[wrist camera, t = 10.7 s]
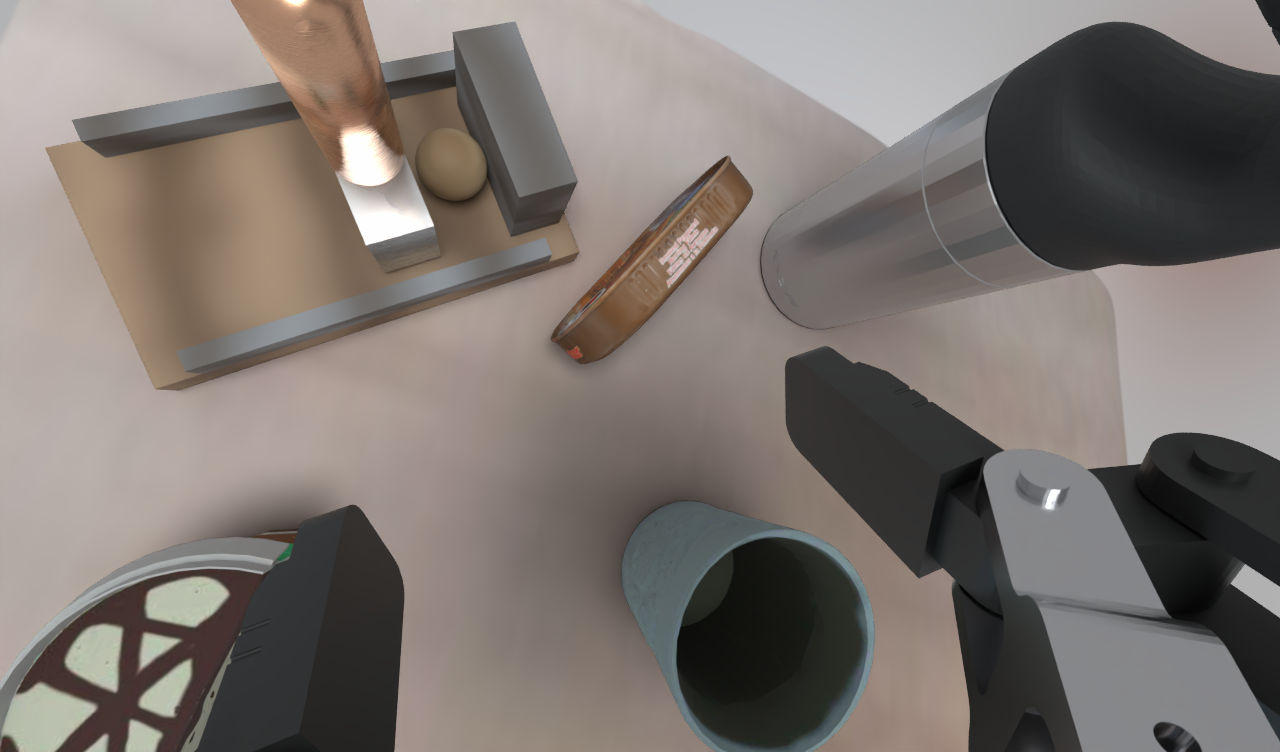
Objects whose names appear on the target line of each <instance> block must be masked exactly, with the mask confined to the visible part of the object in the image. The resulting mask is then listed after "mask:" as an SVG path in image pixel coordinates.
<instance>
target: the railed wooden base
mask: <svg viewBox="0 0 1280 752" xmlns="http://www.w3.org/2000/svg"><path fill="white" fill-rule="evenodd" d="M453 42H454V50H452V51H446V52H441V53H435V54H430V55H424V56H419V57H414V58H408V59H403V60H397V61H392V62H386V63H381V64H380V65H381V68H382V72H383V75H384V79H385V82H386V86H387V90H388V93H389V97H390V100H391V104H392V107H393V111H394V115H395V118H396V122H397V125H398V129H399V132H400V136H401V140H402V143H403V147H404V154H405V157H406V159H407V161H408V164H409V166H410V169H411V171H412V174H413V176H414V178H415V181H416V183H417V186H418V188H419V191H420V193H421V195H422V198H423V200H424V203H425V205H426V207H427V210H428V212H429V215H430V217H431V220H432V222H433V224H434V228H435V232H436V236H437V240H438V245H439V249H440V253H441V256H440V257H437V258H433V259H430V260H427V261H423V262H420V263H417V264H413V265H410V266H407V267H403V268H400V269H397V270H393V271H390V272H387V273H385V272H384V271H383V269H382V268H381V267H380V265H379V264H378V262H377V261H376V259H375V258H374V256H373V255H372V253H371V252H370V250H369V249H368V247H367V246H366V244H365V242H364V239H363V237H362V235H361V232H360V230H359V228H358V225H357V223H356V220H355V218H354V216H353V213H352V211H351V209H350V206H349V204H348V202H347V199H346V197H345V194H344V192H343V190H342V187H341V185H340V183H339V180H338V178H337V175H336V173H335V171H334V169H333V168H332V167H331V165H330V164H329V162H328V161H327V159H326V157H325V156H324V154H323V152H322V151H321V149H320V148H319V146H318V144H317V143H316V141H315V139H314V138H313V136H312V134H311V133H310V131H309V129H308V128H307V126H306V124H305V123H304V121H303V119H302V118H301V116H300V114H299V113H298V111H297V109H296V108H295V106H294V104H293V103H292V101H291V100H290V98H289V96H288V95H287V93H286V91H285V90H284V88H283V86H282V85H281V83H280V82H277V83H272V84H266V85H261V86H255V87H250V88H244V89H239V90H233V91H228V92H222V93H217V94H211V95H206V96H200V97H195V98H190V99H184V100H179V101H173V102H168V103H162V104H157V105H151V106H146V107H140V108H135V109H129V110H124V111H119V112H113V113H108V114H102V115H97V116H91V117H86V118H80V119H75V120H72V122H73V124H74V126H75V128H76V131H77V133H78V135H79V137H80V140H81V141H78V142H73V143H67V144H62V145H57V146H52V147H47V148H45V149H46V151H47V153H48V155H49V158H50V160H51V162H52V164H53V166H54V169H55V171H56V173H57V175H58V177H59V180H60V182H61V184H62V186H63V188H64V191H65V193H66V195H67V197H68V199H69V201H70V204H71V206H72V208H73V210H74V212H75V215H76V217H77V219H78V221H79V223H80V226H81V228H82V230H83V232H84V234H85V237H86V239H87V241H88V243H89V245H90V248H91V250H92V252H93V254H94V256H95V259H96V261H97V263H98V265H99V267H100V270H101V272H102V274H103V276H104V278H105V281H106V283H107V285H108V287H109V289H110V291H111V294H112V296H113V298H114V300H115V302H116V305H117V307H118V309H119V311H120V313H121V316H122V318H123V320H124V322H125V324H126V327H127V329H128V331H129V333H130V335H131V338H132V340H133V342H134V344H135V346H136V349H137V351H138V353H139V355H140V357H141V360H142V362H143V364H144V366H145V368H146V371H147V373H148V375H149V377H150V379H151V381H152V384H153V386H154V388H155V389H161V390H181V389H184V388H187V387H190V386H193V385H196V384H199V383H202V382H205V381H208V380H211V379H214V378H217V377H220V376H224V375H227V374H230V373H233V372H236V371H239V370H242V369H245V368H248V367H251V366H254V365H257V364H260V363H263V362H266V361H269V360H272V359H275V358H278V357H281V356H285V355H288V354H291V353H294V352H297V351H300V350H303V349H306V348H309V347H312V346H315V345H318V344H321V343H324V342H327V341H330V340H333V339H336V338H339V337H343V336H346V335H349V334H352V333H355V332H358V331H361V330H364V329H367V328H370V327H373V326H376V325H379V324H382V323H385V322H388V321H391V320H394V319H397V318H400V317H404V316H407V315H410V314H413V313H416V312H419V311H422V310H425V309H428V308H431V307H434V306H437V305H440V304H443V303H446V302H449V301H452V300H455V299H458V298H461V297H465V296H468V295H471V294H474V293H477V292H480V291H483V290H486V289H489V288H492V287H495V286H498V285H501V284H504V283H507V282H510V281H513V280H516V279H519V278H523V277H526V276H529V275H532V274H535V273H538V272H541V271H544V270H547V269H550V268H553V267H556V266H559V265H562V264H565V263H568V262H571V261H574V259H575V258H576V256H577V255H578V253H579V250H578V247H577V245H576V242H575V240H574V237H573V235H572V232H571V229H570V227H569V224H568V222H567V219H566V217H565V214H564V211H565V209H566V206H567V204H568V202H569V200H570V197H571V195H572V193H573V191H574V189H575V186H576V184H577V182H578V180H577V178H576V175H575V173H574V170H573V168H572V165H571V163H570V160H569V157H568V155H567V152H566V150H565V147H564V145H563V142H562V140H561V137H560V135H559V132H558V129H557V127H556V124H555V122H554V119H553V117H552V114H551V112H550V109H549V107H548V104H547V101H546V99H545V96H544V94H543V91H542V89H541V86H540V84H539V81H538V79H537V76H536V73H535V71H534V68H533V66H532V63H531V61H530V58H529V56H528V53H527V51H526V48H525V46H524V43H523V40H522V38H521V35H520V33H519V30H518V28H517V25H516V23H515V22H510V23H504V24H498V25H492V26H486V27H481V28H475V29H469V30H463V31H457V32H453ZM439 128H454V129H458V130H461V131H463V132H465V133H467V134H468V135H470V136H471V137H472V138H473V139H474V140H475V141H476V142H477V143H478V144H479V145H480V147H481V148H482V150H483V152H484V155H485V157H486V161H487V176H486V180H485V183H484V185H483V186H482V188H481V189H480V191H479V192H478V193H477V194H475V195H474V196H472V197H470V198H468V199H466V200H462V201H450V200H446V199H443V198H440V197H438V196H436V195H435V194H433V193H432V192H431V191H429V190H428V189H427V188H426V186H425V185H424V184H423V183H422V181H421V180H420V177H419V175H418V173H417V170H416V165H415V154H416V150H417V147H418V145H419V143H420V141H421V140H422V139H423V138H424V136H426V135H427V134H428V133H430V132H431V131H433V130H436V129H439Z"/></svg>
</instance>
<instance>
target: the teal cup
mask: <svg viewBox="0 0 1280 752" xmlns="http://www.w3.org/2000/svg"><path fill="white" fill-rule="evenodd" d="M621 575H622V586H623V591H624V594H625V597H626V600H627V602H628V604H629V607H630V609H631V611H632V613H633V615H634V617H635V619H636V621H637V623H638V624H639V627H640V629H641V631H642V633H643V635H644V637H645V639H646V641H647V643H648V645H649V646H650V648H651V649H652V650H653V651H654V653H655V656H656V658H657V661H658V663H659V665H660V667H661V670H662V672H663V674H664V676H665V679H666V681H667V683H668V685H669V687H670V690H671V692H672V694H673V697H674V699H675V701H676V703H677V705H678V707H679V709H680V711H681V713H682V715H683V717H684V719H685V721H686V723H687V724H688V725H689V726H690V728H691V729H692V730H693V732H694V733H695V734H696V735H697V736H698V737H699V738H700V739H701V740H702V741H703V742H704V743H705V744H706V745H707V746H708V747H710V748H711V749H713V750H715V751H716V752H813V751H814V750H816V749H817V748H819V747H820V746H822V745H823V744H824V743H826V742H827V741H828V740H829V739H830V738H831V737H832V736H833V735H834V734H835V733H836V732H837V731H839V729H840V728H841V727H842V726H843V725H844V723H845V722H846V721H847V719H848V718H849V716H850V715H851V713H852V712H853V710H854V709H855V707H856V706H857V704H858V702H859V700H860V698H861V695H862V693H863V691H864V689H865V687H866V683H867V680H868V676H869V673H870V669H871V666H872V662H873V652H874V642H875V629H874V619H873V613H872V607H871V603H870V600H869V597H868V594H867V592H866V589H865V586H864V584H863V582H862V580H861V578H860V577H859V575H858V573H857V572H856V570H855V568H854V567H853V566H852V564H851V563H850V562H849V561H848V560H847V559H846V558H845V557H844V556H843V555H842V553H841V552H840V551H839V550H837V549H836V548H835V547H833V546H832V545H831V544H829V543H828V542H826V541H824V540H822V539H819V538H817V537H815V536H813V535H810V534H808V533H805V532H802V531H799V530H796V529H792V528H788V527H784V526H780V525H776V524H772V523H768V522H765V521H762V520H758V519H755V518H750V517H745V516H743V515H741V514H737V513H733V512H730V511H726V510H722V509H719V508H716V507H713V506H711V505H708V504H705V503H701V502H697V501H680V502H674V503H671V504H668V505H665V506H663V507H661V508H659V509H657V510H655V511H654V512H653V513H651V514H650V515H649V516H647V517H646V518H645V519H644V520H643V521H642V522H641V523H640V524H639V525H638V527H637V528H636V529H635V531H634V532H633V534H632V536H631V537H630V539H629V541H628V544H627V546H626V549H625V552H624V556H623V560H622V570H621Z"/></svg>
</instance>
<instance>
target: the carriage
mask: <svg viewBox="0 0 1280 752" xmlns="http://www.w3.org/2000/svg"><path fill="white" fill-rule="evenodd" d="M231 2H232V4H233V5H234V7H235V9H236V10H237V12H238V14H239V15H240V17H241V18H242V20H243V22H244V23H245V25H246V27H247V28H248V30H249V32H250V33H251V35H252V37H253V38H254V40H255V42H256V43H257V45H258V47H259V48H260V50H261V52H262V53H263V55H264V57H265V58H266V60H267V61H268V63H269V65H270V66H271V68H272V70H273V71H274V73H275V75H276V76H277V78H278V80H279V81H280V83H281V85H282V86H283V88H284V90H285V91H286V93H287V95H288V96H289V98H290V100H291V101H292V103H293V104H294V106H295V108H296V109H297V111H298V113H299V114H300V116H301V118H302V119H303V121H304V123H305V124H306V126H307V128H308V129H309V131H310V133H311V134H312V136H313V138H314V139H315V141H316V143H317V144H318V146H319V148H320V149H321V151H322V152H323V154H324V156H325V157H326V159H327V161H328V162H329V164H330V165H331V167H332V168H333V169H334V171H335V173H336V175H337V178H338V180H339V183H340V185H341V187H342V190H343V192H344V194H345V197H346V199H347V202H348V204H349V206H350V209H351V211H352V213H353V216H354V218H355V220H356V223H357V225H358V228H359V230H360V232H361V235H362V237H363V239H364V242H365V244H366V246H367V247H368V249H369V250H370V252H371V253H372V255H373V256H374V258H375V259H376V261H377V262H378V264H379V265H380V267H381V268H382V269H383V271H384V272H385V273H387V272H390V271H393V270H397V269H400V268H403V267H407V266H410V265H413V264H417V263H420V262H423V261H427V260H430V259H433V258H437V257H440V256H441V253H440V249H439V245H438V240H437V236H436V232H435V228H434V224H433V222H432V220H431V217H430V215H429V212H428V210H427V207H426V205H425V203H424V200H423V198H422V195H421V193H420V191H419V188H418V186H417V183H416V181H415V178H414V176H413V174H412V171H411V169H410V166H409V164H408V161H407V159H406V157H405V154H404V147H403V143H402V140H401V136H400V132H399V129H398V125H397V122H396V118H395V115H394V111H393V107H392V104H391V100H390V97H389V93H388V90H387V86H386V82H385V79H384V75H383V72H382V68H381V65H380V61H379V57H378V54H377V50H376V47H375V43H374V40H373V36H372V32H371V29H370V25H369V22H368V18H367V15H366V11H365V7H364V4H363V0H231Z"/></svg>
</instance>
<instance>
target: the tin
mask: <svg viewBox="0 0 1280 752" xmlns="http://www.w3.org/2000/svg"><path fill="white" fill-rule="evenodd" d="M752 195H753V190H752V187H751V185H750V184H749V183H748V181H747V180H746V179H745V177H744V176H743V175H742V174H741V173H740V171H739V170H738V169H737V168H736V167H735V165H734V164H733V163H732V162H731V158H730V156H726V157H724V158H722V159H721V160H720V161H718V162H717V163H716V164H714V165H713V166H712V167H711V168H710V169H709V170H708V171H706V172H705V173H704V174H703V175H702V176H701V177H700V178H699V179H697V180H696V181H695V182H694V183H693V184H692V185H691V186H690V187H689V188H688V189H686V190H685V191H684V192H683V193H682V194H681V195H680V196H679V197H677V198H676V199H675V200H674V201H673V202H672V203H671V204H670V205H669V206H668V207H667V208H666V209H665V210H664V211H663V212H662V213H661V214H660V216H659V217H658V218H657V219H656V220H655V221H654V222H653V223H652V224H651V225H650V226H649V227H648V228H647V229H646V230H645V231H644V232H643V233H642V235H641V236H640V237H639V238H638V239H637V240H636V241H635V242H634V243H633V244H632V245H631V246H630V247H629V248H628V249H627V250H626V252H625V253H624V254H623V255H622V256H621V257H620V258H619V259H618V260H617V261H616V262H615V263H614V264H613V265H612V266H611V267H610V269H609V270H608V271H607V272H606V273H605V274H604V275H603V276H602V277H601V278H600V279H599V280H598V281H597V282H596V283H595V284H594V285H593V287H592V288H591V289H590V290H589V291H588V292H587V293H586V294H585V295H584V296H583V297H582V298H581V299H580V301H579V302H578V303H577V304H576V305H575V306H574V307H573V308H572V310H571V311H570V312H569V313H568V314H567V315H566V316H565V318H564V319H563V320H562V321H561V323H560V324H559V325H558V326H557V328H556V329H555V331H554V333H553V334H552V336H551V340H552V341H553V342H556V343H558V344H559V345H560V346H561V347H562V348H563V349H564V350H565V351H566V352H567V353H568V354H569V355H570V356H571V357H572V358H574V359H575V360H576V361H577V362H579V363H580V364H586V363H590V362H593V361H597V360H600V359H602V358H604V357H606V356H607V355H609V354H610V353H612V352H613V351H614V350H615V349H617V348H618V347H619V346H620V345H622V344H623V343H624V342H625V341H626V340H628V339H629V338H630V337H631V336H632V335H633V334H634V333H635V332H636V331H637V330H638V329H639V328H640V327H641V326H642V325H643V324H644V323H645V322H646V321H647V320H648V319H649V318H650V317H651V316H652V315H653V314H654V313H655V312H656V311H657V310H658V309H659V308H660V306H661V305H662V304H663V303H664V302H665V301H666V300H667V299H668V297H669V296H670V295H671V294H672V293H673V292H674V291H675V290H676V289H677V287H678V286H679V285H680V284H681V283H682V282H683V281H684V279H685V278H686V277H687V276H688V275H689V274H690V273H691V272H692V271H693V269H694V268H695V267H696V266H697V265H698V264H699V262H700V261H701V260H702V259H703V258H704V257H705V256H706V255H707V253H708V252H709V251H710V250H711V249H712V248H713V246H714V245H715V244H716V243H717V242H718V241H719V239H720V238H721V237H722V236H723V235H724V234H725V232H726V231H727V230H728V229H729V228H730V227H731V225H732V224H733V223H734V222H735V221H736V220H737V218H738V217H739V216H740V215H741V213H742V212H743V211H744V209H745V208H746V207H747V205H748V203H749V202H750V200H751V198H752Z"/></svg>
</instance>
